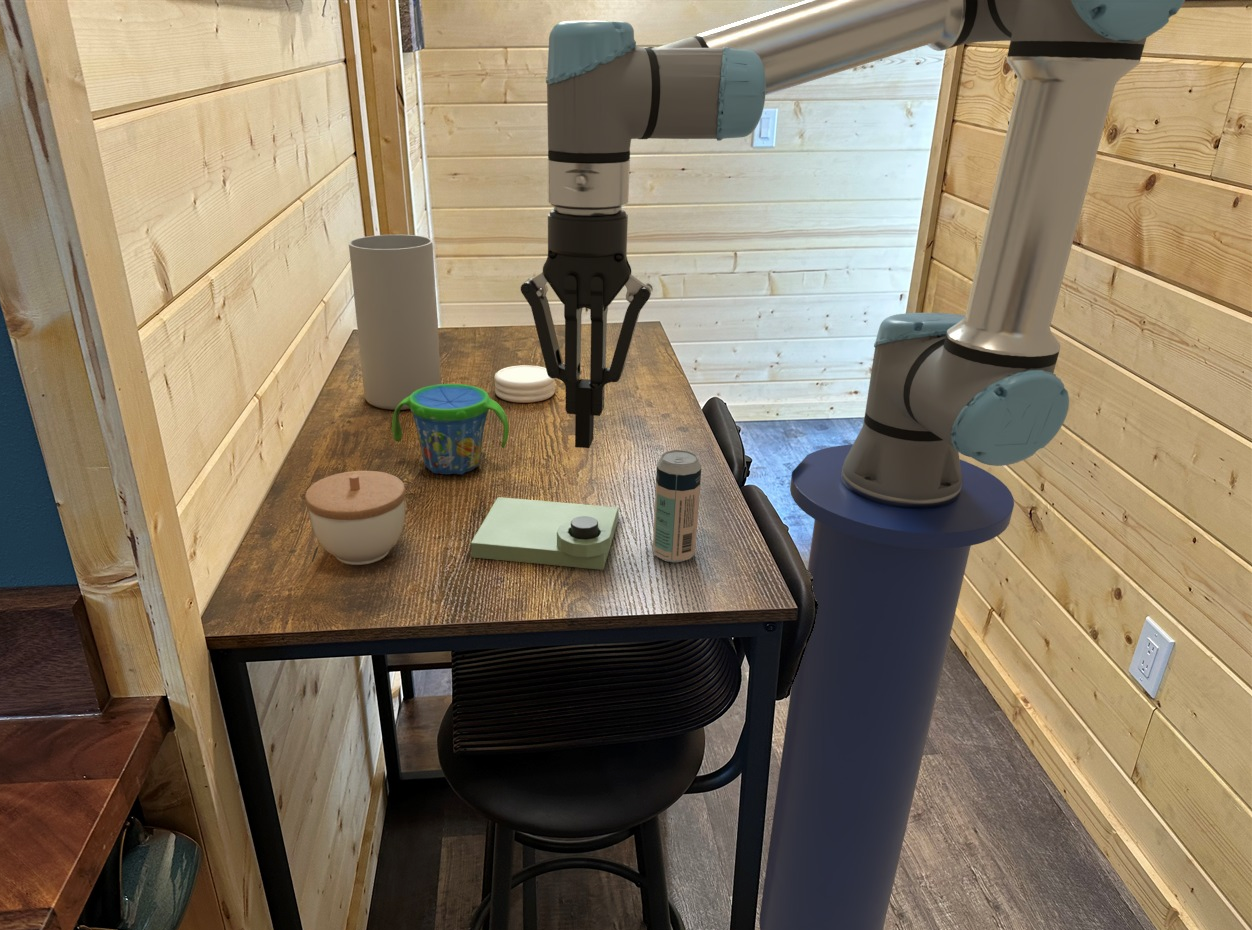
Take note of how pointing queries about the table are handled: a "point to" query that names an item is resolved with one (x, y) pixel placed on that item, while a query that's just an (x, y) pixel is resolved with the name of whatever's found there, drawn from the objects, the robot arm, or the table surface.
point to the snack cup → (450, 425)
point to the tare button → (584, 527)
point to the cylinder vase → (395, 316)
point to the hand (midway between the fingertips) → (584, 442)
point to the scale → (544, 533)
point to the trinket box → (357, 514)
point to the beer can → (676, 505)
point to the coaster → (524, 384)
